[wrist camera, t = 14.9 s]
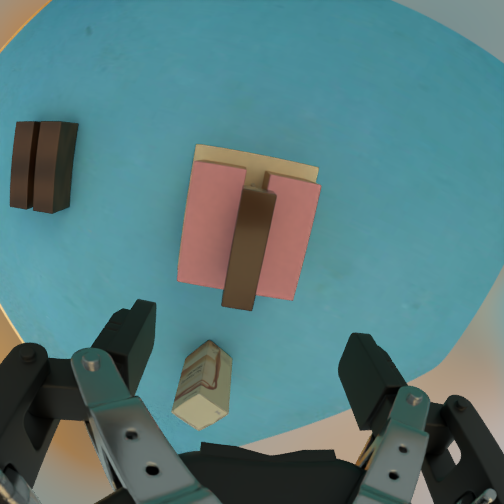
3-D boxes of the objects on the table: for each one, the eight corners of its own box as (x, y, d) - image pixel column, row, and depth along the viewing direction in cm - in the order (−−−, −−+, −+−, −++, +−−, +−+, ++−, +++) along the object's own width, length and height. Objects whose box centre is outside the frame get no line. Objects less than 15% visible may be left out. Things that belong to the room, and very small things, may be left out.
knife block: (35, 122, 29) (16, 121, 25) (78, 123, 29) (61, 121, 26) (27, 200, 32) (9, 206, 28) (69, 207, 32) (52, 214, 29)
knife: (242, 176, 32) (242, 188, 21) (265, 180, 32) (277, 194, 21) (227, 257, 34) (220, 306, 24) (248, 261, 35) (252, 311, 24)
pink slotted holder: (196, 143, 31) (185, 141, 25) (318, 167, 32) (336, 171, 26) (178, 268, 35) (164, 293, 29) (289, 287, 36) (299, 316, 30)
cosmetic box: (209, 337, 38) (200, 392, 29) (233, 358, 39) (232, 413, 30) (182, 359, 39) (169, 412, 30) (206, 377, 40) (199, 432, 31)
